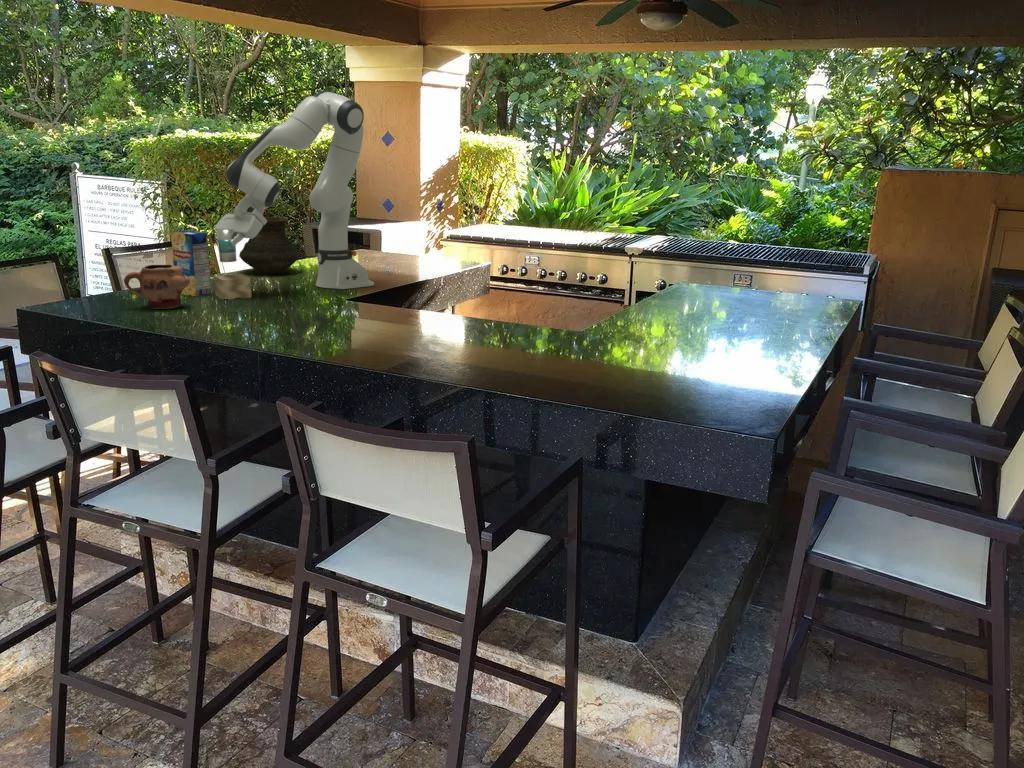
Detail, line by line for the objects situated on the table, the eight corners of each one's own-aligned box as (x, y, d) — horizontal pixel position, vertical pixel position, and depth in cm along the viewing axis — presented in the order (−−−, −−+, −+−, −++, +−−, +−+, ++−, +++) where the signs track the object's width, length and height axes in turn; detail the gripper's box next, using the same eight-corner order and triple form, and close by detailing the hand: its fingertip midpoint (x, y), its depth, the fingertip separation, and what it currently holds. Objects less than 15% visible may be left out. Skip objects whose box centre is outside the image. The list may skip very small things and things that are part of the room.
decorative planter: (128, 313, 273) (123, 269, 270) (125, 306, 284) (121, 264, 280) (194, 309, 282) (190, 267, 278) (189, 302, 293) (186, 261, 289)
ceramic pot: (296, 277, 349) (294, 221, 343) (235, 276, 346) (232, 220, 339) (303, 268, 372) (301, 216, 365) (245, 267, 368) (242, 215, 362)
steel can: (234, 259, 305) (231, 228, 302) (238, 261, 300) (236, 229, 297) (218, 260, 302) (215, 229, 299) (221, 262, 297) (219, 230, 294)
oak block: (243, 293, 312) (242, 274, 310) (251, 297, 304) (250, 278, 302) (215, 295, 307) (213, 275, 305) (222, 299, 299) (221, 279, 297)
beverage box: (196, 296, 303) (191, 234, 297) (175, 293, 308) (170, 231, 302) (211, 294, 308) (207, 232, 302) (191, 290, 314) (186, 230, 308)
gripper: (223, 206, 308) (202, 236, 303) (258, 209, 296) (236, 240, 291) (235, 218, 312) (214, 247, 307) (270, 221, 300) (249, 252, 295)
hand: (225, 244), depth 299 cm, fingers closed on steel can, 6 cm apart
